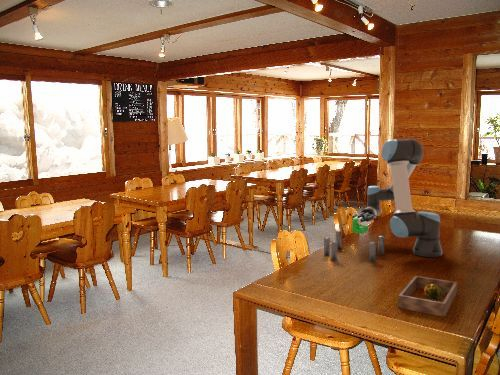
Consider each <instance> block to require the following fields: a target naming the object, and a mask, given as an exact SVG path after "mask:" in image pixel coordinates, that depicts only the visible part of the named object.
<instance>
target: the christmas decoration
mask: <svg viewBox="0 0 500 375" xmlns="http://www.w3.org/2000/svg"><path fill="white" fill-rule="evenodd" d="M434 283H435V282H434ZM426 284H427V283H426ZM441 290H442V289H441V288H440V289H439V288H438V284H436V285H435V284H428V285H426V287H425V289H423V290H422V293H424V296H423V297H422V299H424V298H425V299H426V300H431V301H437V302H443V301H444V300H445V298H446V296H445V294H447V293H446V292H447V291H445V292H443V291H441Z"/></svg>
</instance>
